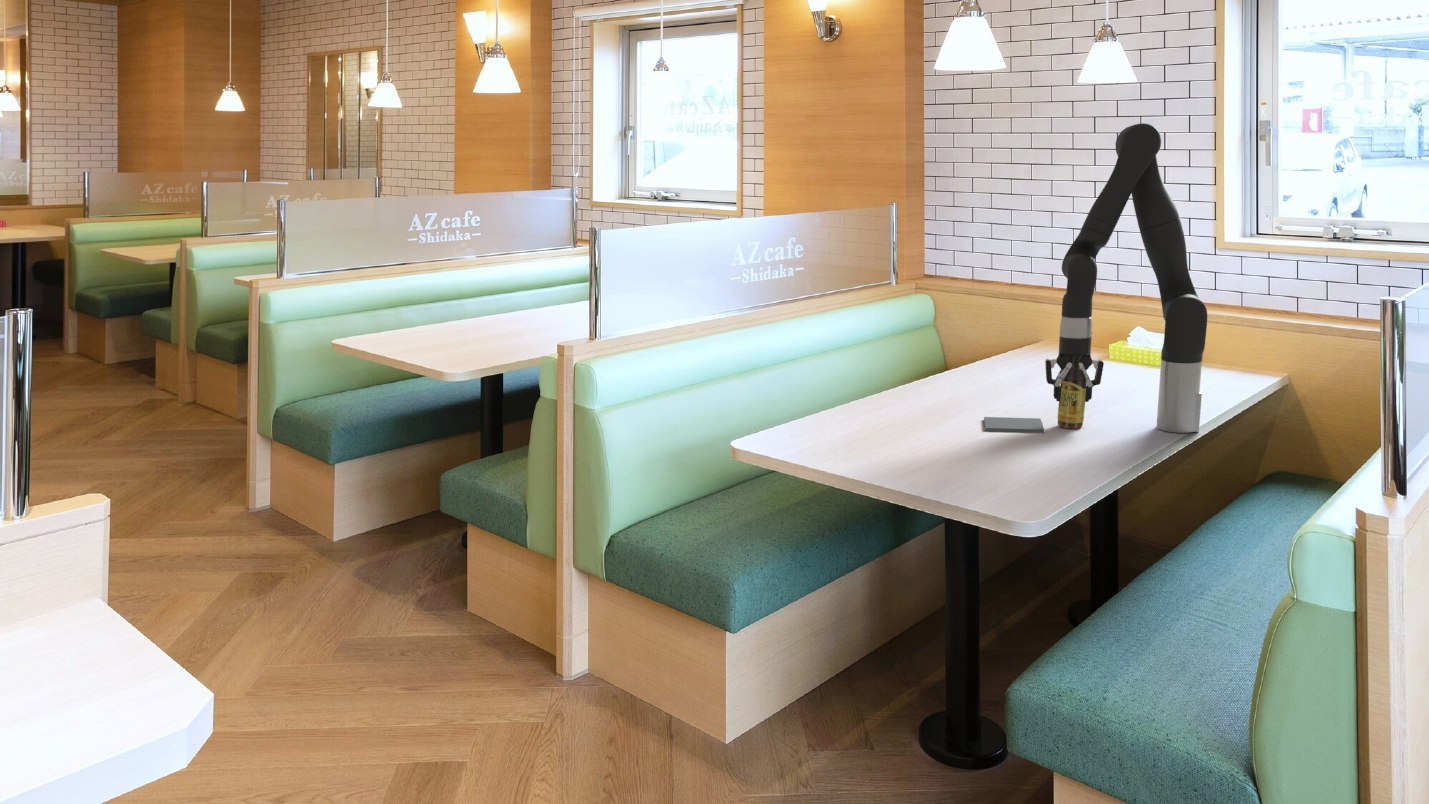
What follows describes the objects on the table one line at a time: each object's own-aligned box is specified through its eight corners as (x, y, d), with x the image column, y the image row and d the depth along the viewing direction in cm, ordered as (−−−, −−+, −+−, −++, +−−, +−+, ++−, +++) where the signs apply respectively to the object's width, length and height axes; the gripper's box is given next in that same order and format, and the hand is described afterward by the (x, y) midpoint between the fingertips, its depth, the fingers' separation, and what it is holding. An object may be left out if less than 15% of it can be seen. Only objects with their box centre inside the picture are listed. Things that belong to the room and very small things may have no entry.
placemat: (1040, 421, 280) (1040, 418, 280) (1044, 432, 269) (1044, 429, 269) (984, 419, 283) (984, 416, 283) (985, 431, 272) (985, 427, 272)
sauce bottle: (1052, 426, 275) (1055, 348, 271) (1067, 422, 278) (1070, 345, 274) (1074, 431, 270) (1078, 351, 265) (1089, 427, 273) (1093, 348, 269)
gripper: (1104, 332, 271) (1100, 398, 275) (1043, 331, 274) (1040, 397, 278) (1108, 337, 264) (1104, 405, 268) (1046, 336, 267) (1043, 403, 271)
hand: (1072, 400), depth 273 cm, fingers closed on sauce bottle, 6 cm apart
